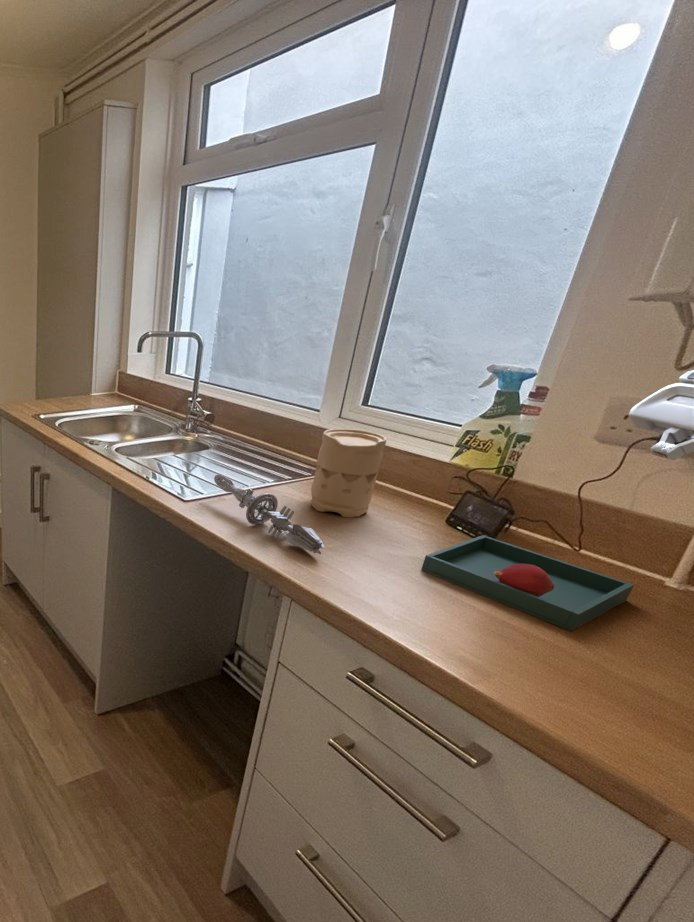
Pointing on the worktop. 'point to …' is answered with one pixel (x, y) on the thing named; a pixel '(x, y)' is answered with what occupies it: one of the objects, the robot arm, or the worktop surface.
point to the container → (346, 471)
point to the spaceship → (272, 516)
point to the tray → (564, 606)
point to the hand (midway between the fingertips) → (660, 454)
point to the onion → (526, 578)
